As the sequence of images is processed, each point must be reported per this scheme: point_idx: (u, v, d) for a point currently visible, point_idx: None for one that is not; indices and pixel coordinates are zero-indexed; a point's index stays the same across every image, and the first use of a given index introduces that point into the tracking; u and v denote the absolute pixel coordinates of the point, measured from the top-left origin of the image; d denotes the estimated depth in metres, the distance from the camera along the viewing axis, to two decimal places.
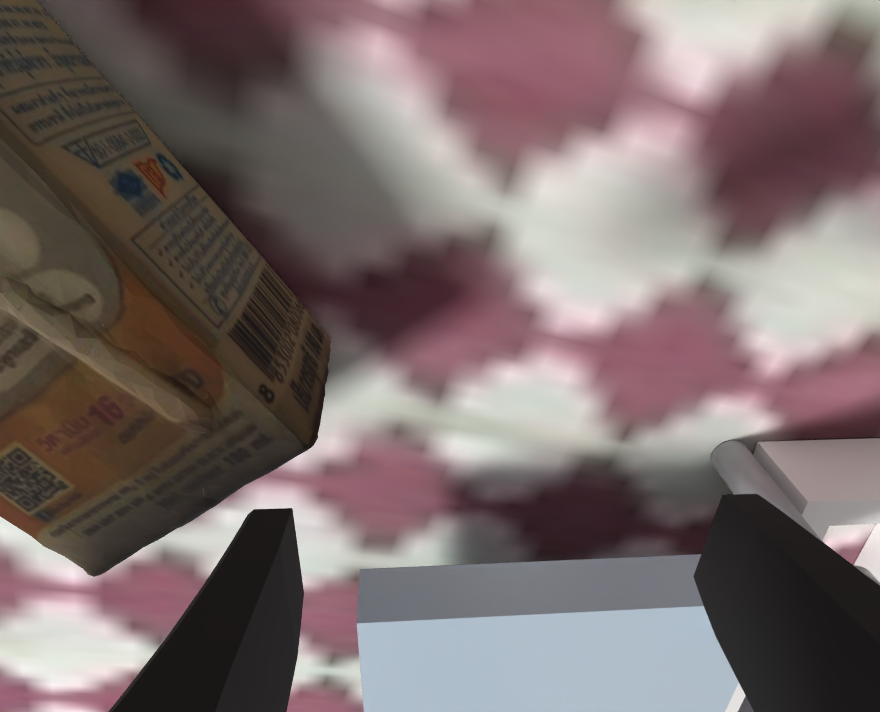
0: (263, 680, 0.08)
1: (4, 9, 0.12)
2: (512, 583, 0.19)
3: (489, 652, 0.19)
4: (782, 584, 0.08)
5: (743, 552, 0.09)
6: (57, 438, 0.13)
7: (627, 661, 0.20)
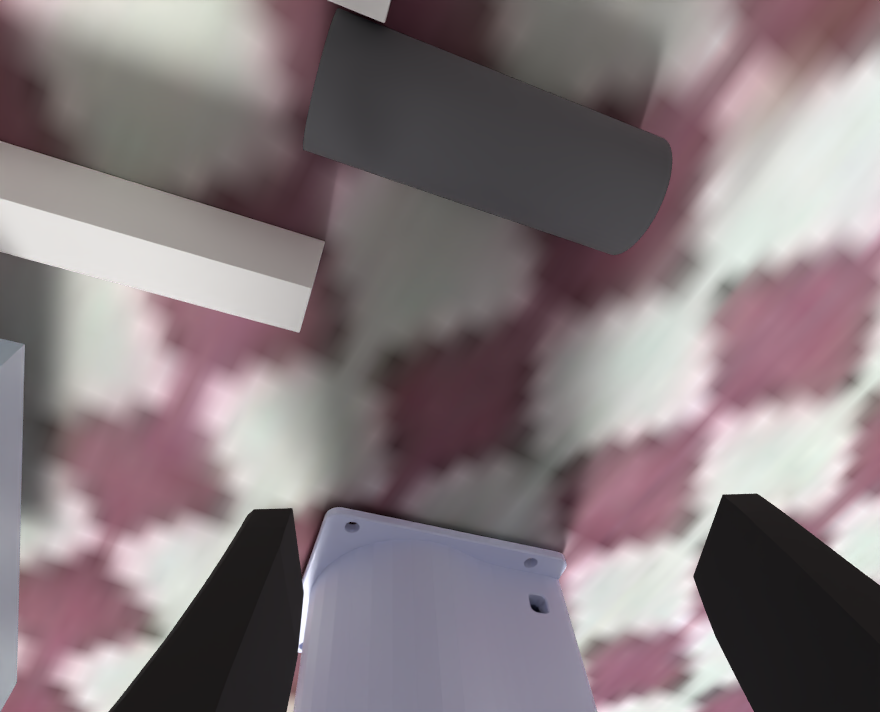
0: (263, 680, 0.08)
1: None
2: None
3: None
4: (782, 584, 0.08)
5: (743, 552, 0.09)
6: None
7: None
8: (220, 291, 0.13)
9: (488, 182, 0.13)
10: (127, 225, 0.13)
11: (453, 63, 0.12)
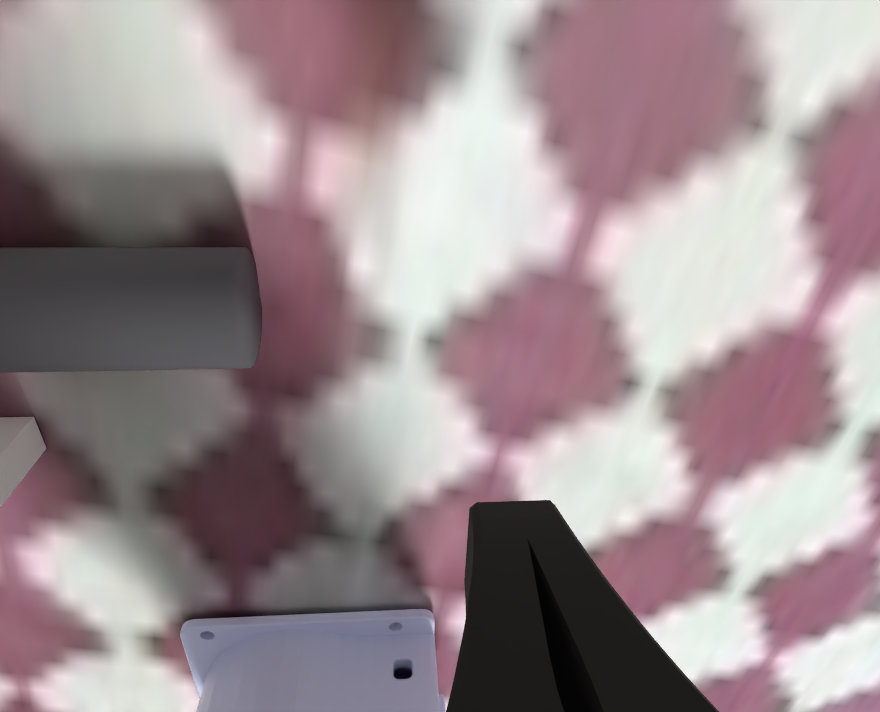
0: None
1: None
2: None
3: None
4: (539, 595, 0.08)
5: None
6: None
7: None
8: None
9: (61, 356, 0.13)
10: None
11: None
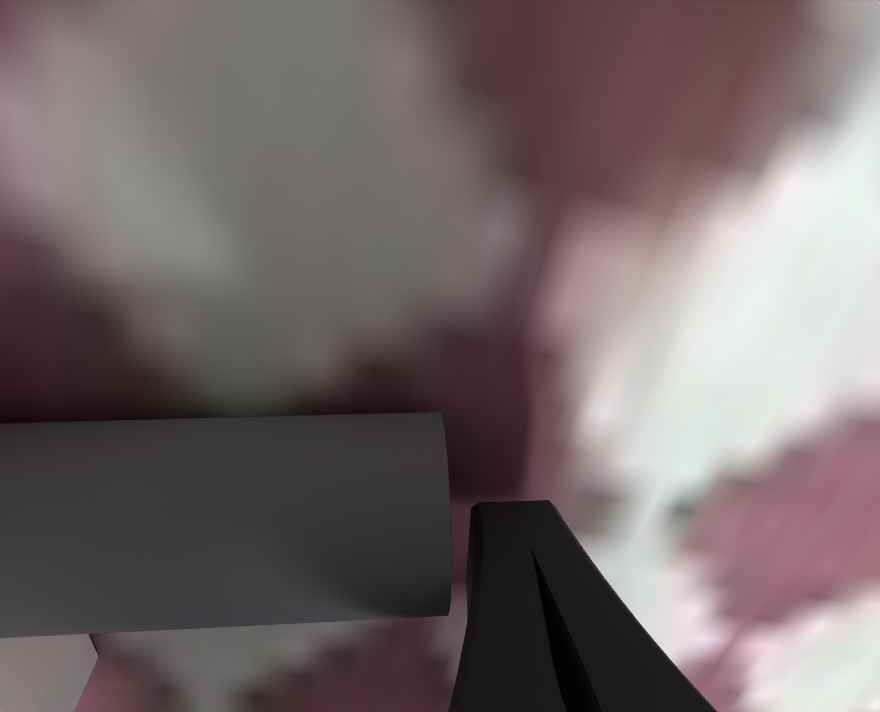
0: None
1: None
2: None
3: None
4: None
5: None
6: None
7: None
8: None
9: (158, 628, 0.08)
10: None
11: (21, 489, 0.07)
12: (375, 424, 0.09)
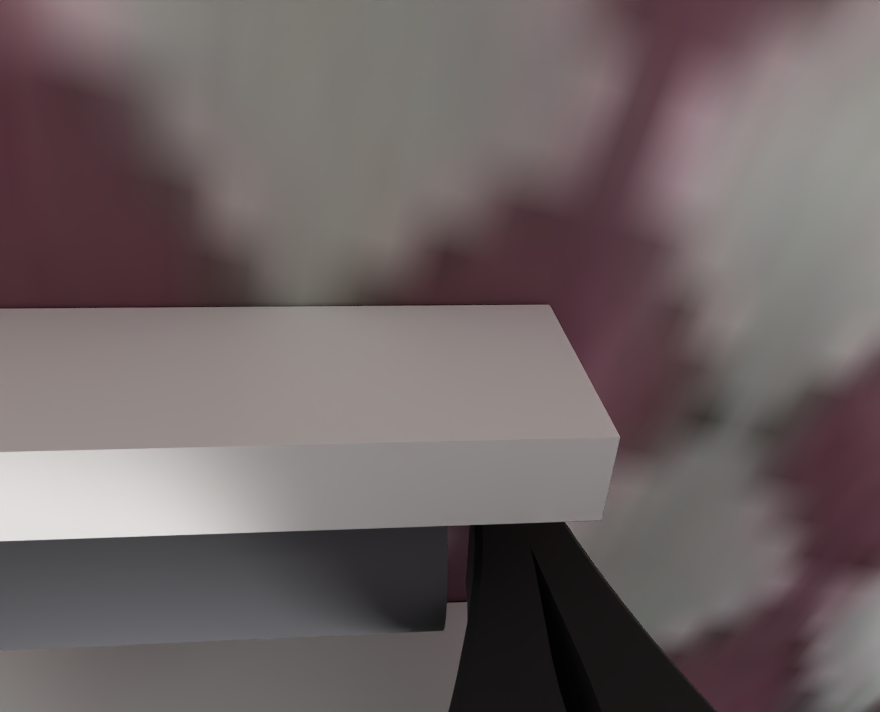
0: None
1: None
2: None
3: None
4: None
5: None
6: None
7: None
8: None
9: (146, 641, 0.08)
10: None
11: None
12: None
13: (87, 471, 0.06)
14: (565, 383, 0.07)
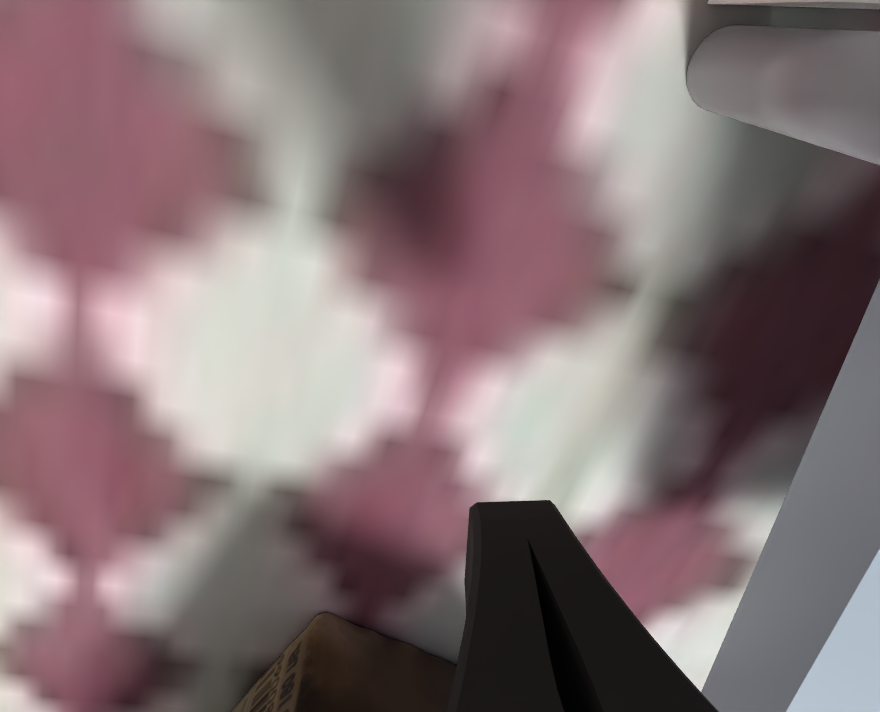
0: None
1: None
2: (773, 612, 0.11)
3: None
4: (538, 595, 0.08)
5: None
6: None
7: None
8: None
9: None
10: None
11: None
12: None
13: None
14: None
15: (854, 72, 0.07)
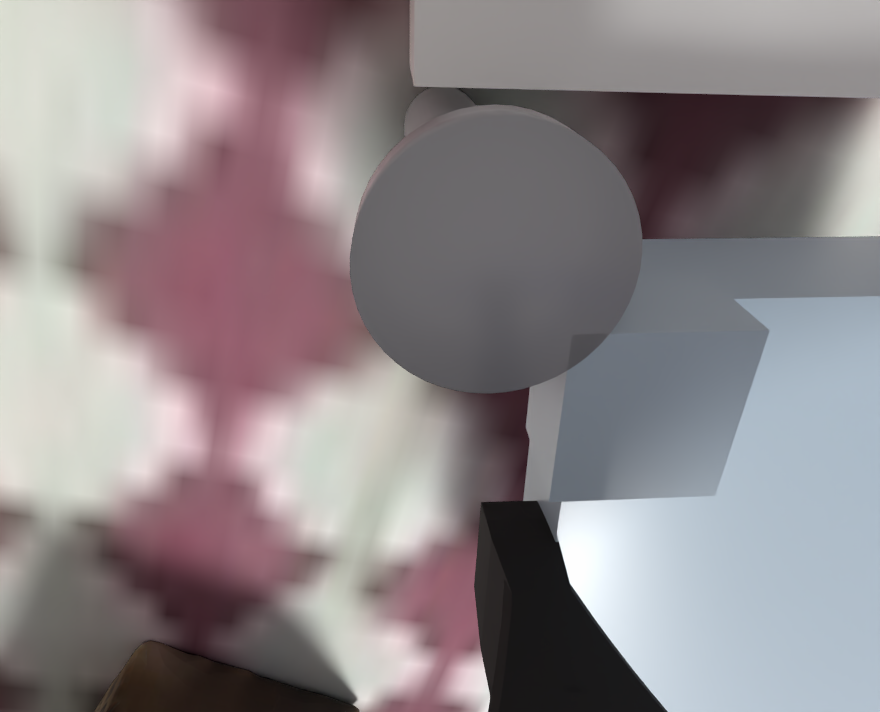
0: None
1: None
2: None
3: None
4: (501, 596, 0.08)
5: (487, 562, 0.09)
6: None
7: (731, 560, 0.09)
8: None
9: None
10: None
11: None
12: None
13: None
14: None
15: None
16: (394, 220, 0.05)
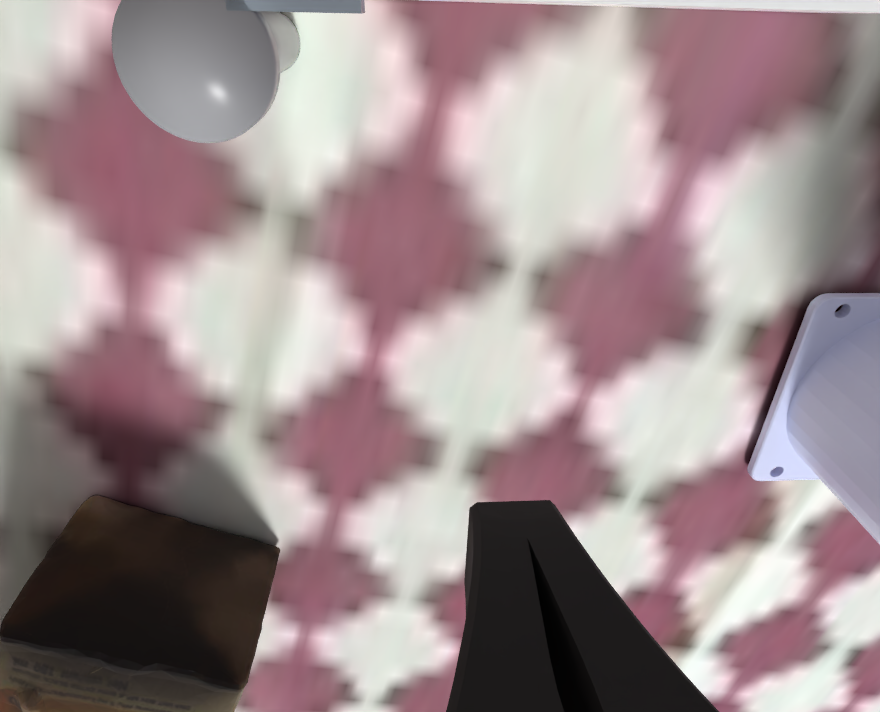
0: None
1: None
2: None
3: None
4: (538, 595, 0.08)
5: None
6: None
7: None
8: None
9: None
10: None
11: None
12: None
13: None
14: None
15: None
16: (176, 118, 0.10)
